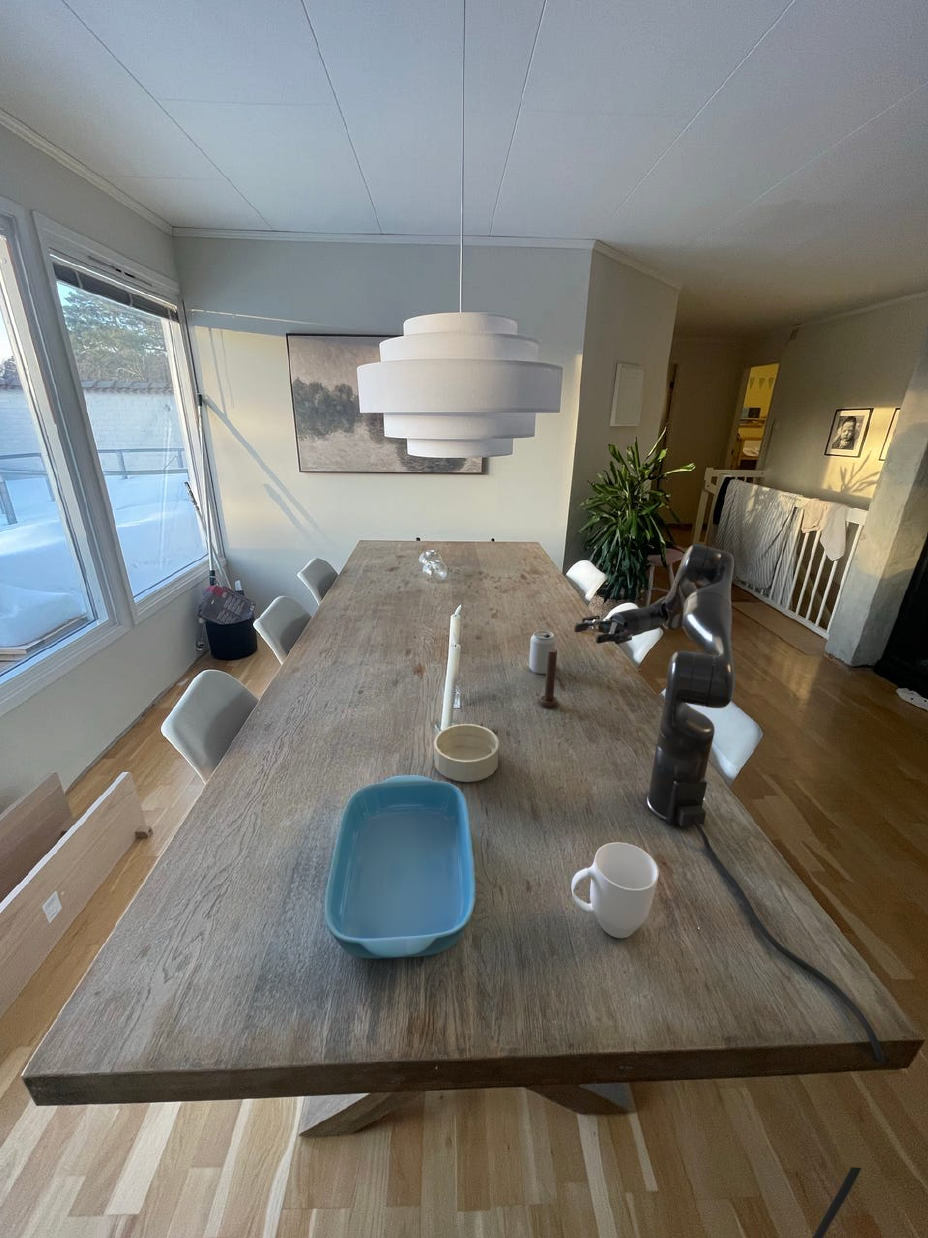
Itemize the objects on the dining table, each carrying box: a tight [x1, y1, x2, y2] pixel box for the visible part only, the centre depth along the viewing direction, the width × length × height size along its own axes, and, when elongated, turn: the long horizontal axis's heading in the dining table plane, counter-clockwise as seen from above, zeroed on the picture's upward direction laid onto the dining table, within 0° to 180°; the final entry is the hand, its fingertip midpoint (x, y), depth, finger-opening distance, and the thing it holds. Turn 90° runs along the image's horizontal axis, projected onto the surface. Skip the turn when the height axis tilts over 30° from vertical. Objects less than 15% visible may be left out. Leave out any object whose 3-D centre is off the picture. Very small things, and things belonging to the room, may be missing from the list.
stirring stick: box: [539, 648, 558, 709], centre depth 136 cm, size 4×4×16 cm
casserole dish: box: [323, 774, 476, 959], centre depth 84 cm, size 37×22×7 cm, turn 4°
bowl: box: [433, 723, 500, 783], centre depth 114 cm, size 14×14×6 cm
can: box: [528, 630, 557, 675], centre depth 155 cm, size 8×8×12 cm
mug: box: [570, 841, 660, 939], centre depth 76 cm, size 12×9×12 cm
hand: (585, 634), depth 137 cm, fingers open, 8 cm apart
